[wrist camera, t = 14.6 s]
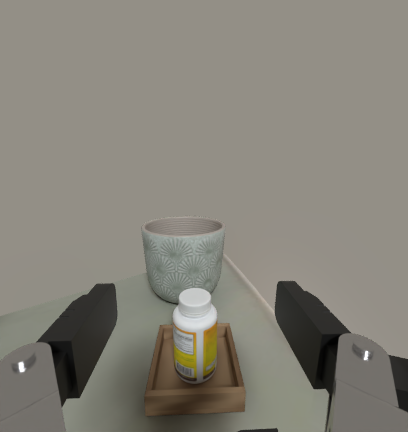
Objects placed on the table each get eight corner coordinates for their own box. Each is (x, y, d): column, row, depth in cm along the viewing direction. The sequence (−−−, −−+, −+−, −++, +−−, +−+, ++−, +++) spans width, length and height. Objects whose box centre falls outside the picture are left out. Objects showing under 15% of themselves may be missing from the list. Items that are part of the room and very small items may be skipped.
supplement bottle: (212, 347, 31) (213, 283, 29) (220, 384, 26) (222, 308, 24) (174, 351, 31) (172, 285, 29) (173, 389, 25) (171, 312, 23)
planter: (234, 311, 40) (237, 233, 37) (141, 322, 37) (136, 238, 34) (213, 271, 57) (214, 214, 54) (147, 276, 54) (144, 217, 51)
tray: (145, 416, 23) (144, 396, 22) (160, 339, 33) (160, 325, 33) (244, 411, 23) (245, 392, 23) (228, 337, 34) (229, 323, 33)
